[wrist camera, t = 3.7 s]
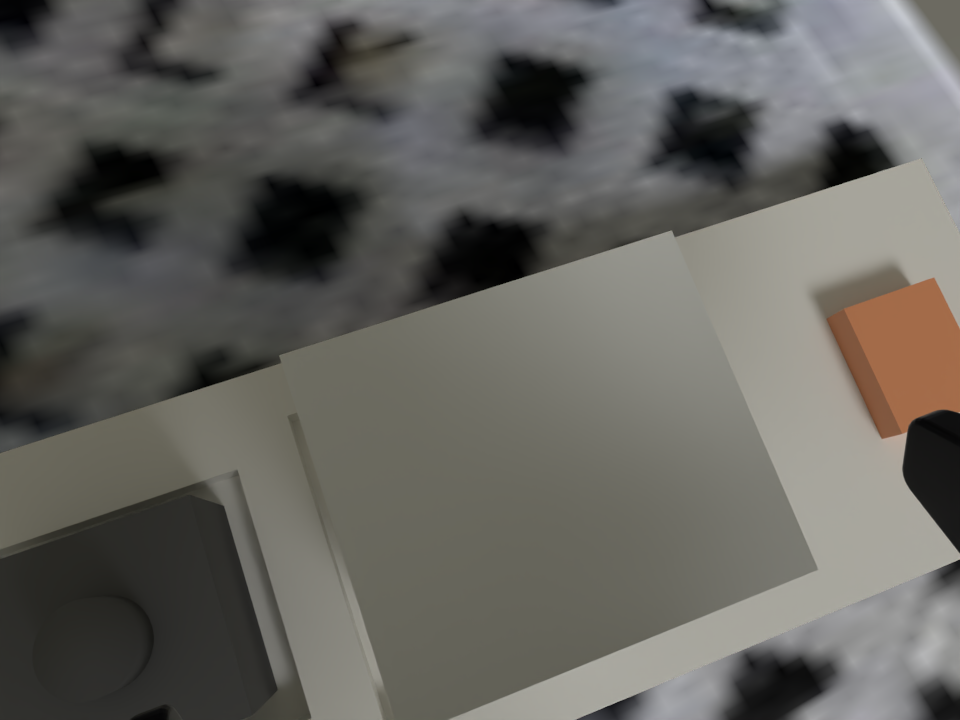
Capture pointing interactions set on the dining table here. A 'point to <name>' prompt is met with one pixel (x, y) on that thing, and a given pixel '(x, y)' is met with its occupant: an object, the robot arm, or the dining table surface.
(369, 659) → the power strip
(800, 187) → the dining table surface
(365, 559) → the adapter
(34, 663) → the black plug
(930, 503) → the robot arm
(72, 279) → the dining table surface
